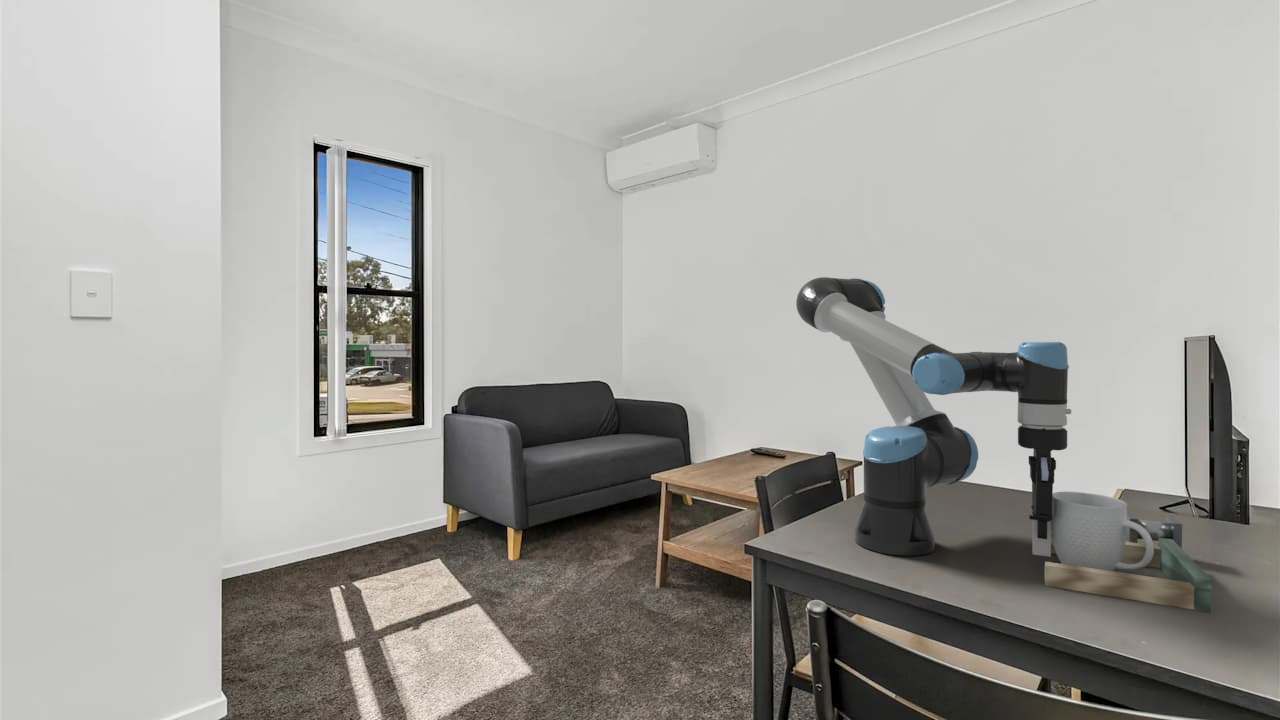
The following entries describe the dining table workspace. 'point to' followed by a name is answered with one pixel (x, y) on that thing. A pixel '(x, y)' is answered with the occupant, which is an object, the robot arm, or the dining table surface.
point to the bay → (1141, 578)
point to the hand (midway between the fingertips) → (1041, 554)
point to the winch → (1156, 529)
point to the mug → (1093, 531)
